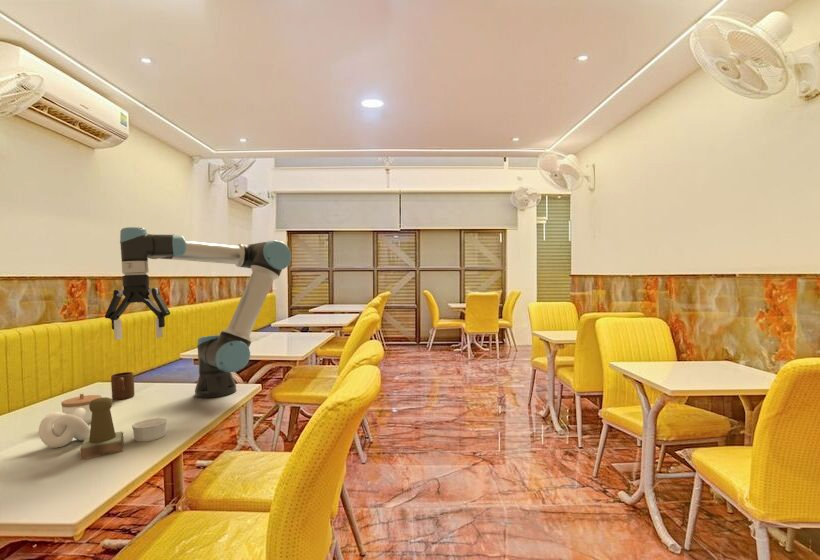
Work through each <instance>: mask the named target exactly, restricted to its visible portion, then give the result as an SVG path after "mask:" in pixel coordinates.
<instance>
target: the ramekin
mask: <svg viewBox="0 0 820 560" xmlns="http://www.w3.org/2000/svg"><path fill="white" fill-rule="evenodd" d="M167 422H168V419H167V418H164V417H157V418H149V419H145V420H141V421H138V422H134V423H133V424H132V425H131V428H132V431H133V438H134V441H136V442H140V443H143V442H145V443H146V442H151V441H155V440H158V439H162V438H163V437H165V435H166V433H167Z"/></svg>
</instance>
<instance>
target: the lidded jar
mask: <svg viewBox="0 0 820 560" xmlns="http://www.w3.org/2000/svg"><path fill="white" fill-rule="evenodd" d="M97 398H103V397H102V396H101V395H99V394H87V395H84V393H80V394H79V396H75V397H71V398H70V397H69V398H67V399H66V400H65V399H64V400H63V401H61V411H62V412H61V413H65V414H73V413H74V411H75V410H76V409H78V408H84V409H85V410H86V414H85V416H84V418H83V420H84V421H85V422H86V423H87V424H88V425H89V424H91V418H92V412H91V411H90V409H89V404H90V402H91V401H92V400H94V399H97Z"/></svg>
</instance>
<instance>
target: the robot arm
mask: <svg viewBox="0 0 820 560" xmlns="http://www.w3.org/2000/svg"><path fill="white" fill-rule="evenodd" d="M119 232H120V233H119V235H120V237H119V238H120V239H119V240H120V241H119V244H120V254H121V255H120V257H121V273H122V287H123V289H122V290H121V289H115V290H113V295H112V299H111V301H110V303H109V305H108V307H107V308H108V309H107V310H106V312H105V315H104V318H105V319H108V320H111V321H110V322H111V329H112V330H113V331H114V341H118V340H122V339H123V329H122V326H123V325H122V319H120V318H121V316H122V314H123V313H124V312H125V311H126V309H127V308H128V307H129V305H130V304H133V303H134V304H135V303H143V304H145V306H147V307H148V308H149V309H150V311H151V312H152V313H153V314H154V315H155V316H156V318H155V319H154V320H155V338H156V339H160V338H163V337H164V333H163V332H164V331H163V330H164V327H165V326H166V323H165V322H166V320H165V319H166V318H165V317H167V316H169V315H171V311H170V310H169V307H168V306H167V304H166V302H165V301H164V299H163V297H162V296H161V293H160V289H159V288H158V287H155V288H154V287H153V288H151V289H150V288H149V286H150V278H149V277H150V276H149V273H150V271H149V259H151V260H157V259H160V260H173V261H174V260H176V261H188V262H199V263H200V262H201V263H202V262H203V263H212V264H213V263H214V264H215V263H216V264H224V265H225V264H227V265H235V266H236V267H237V268H244V269H245V268H246V269H251V271H252V273H251V274H250V277H249V279H248V281H247V283H246V286H245V288H244V290H243V292H242V295H241V298H240V299H239V301H238V304H237V306H236V308H235V310H234V313H233V314H232V317H231V320H230V322H229V324H228V325H227V326H228V327H227V328H225V329H223V330H221V331H220V334H216V335H215V334H213V335H209V336H201V337H199V338H198V339H197V345H196V347H197V361H198V379H197V381H196V386H195V388H194V396H195V397H196V398H201V399H207V398H217V397H223V396H227V395H228V396H229V395H231V394H234V393H235V392H237V383H236V382H235V379H234V376H233V374H232V373H236V372H239V371H241V370H242V369H244V368H245V367H246V366H247V365H248V363H249V361H250V359H251V358H250V357H251V351H250V347H251V343H252V339H251V334H252V331H253V328H254V327H255V323H256V321H257V319H258V317H259V314H260V313H261V310H262V308H263V306H264V303H265V300H266V299H267V296H268V294H269V291H270V289H271V287H272V285H273V284H272V283H273V282H274V281H275V280H277V279H279V277H280V276H281V273H282V271H283V270H284V269H286V268H287V267H288V266H290V264H291V261H292V252H291V250H290V248H289V246H288V245H287V244H286V243H285V242H283V241H281V240H276V239H271V240H267V241H264V242H263V241H262V242H258V243H251V244H250V243H249V244H248V243H247V244H246V243H245V244H243V243H242V244H241V243H239V244H237V245H229V244H219V243H211V242H210V243H209V242H199V241H188V240H186V239H185V237H184V235H181V234H150V233H148V232H147V229H146V228H145V227H139V226H138V227H135V226H134V227H133V226H132V227H131V226H127V227H124V228H121V229H120V231H119ZM149 295H151V296H152V297H153V299H152V298H151V297H150V296H149ZM122 296H124V298H123V299H122ZM121 299H122V300H121ZM153 300H154V301H155V303H154V301H153ZM120 302H121V303H120ZM156 304H157V305H156Z"/></svg>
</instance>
